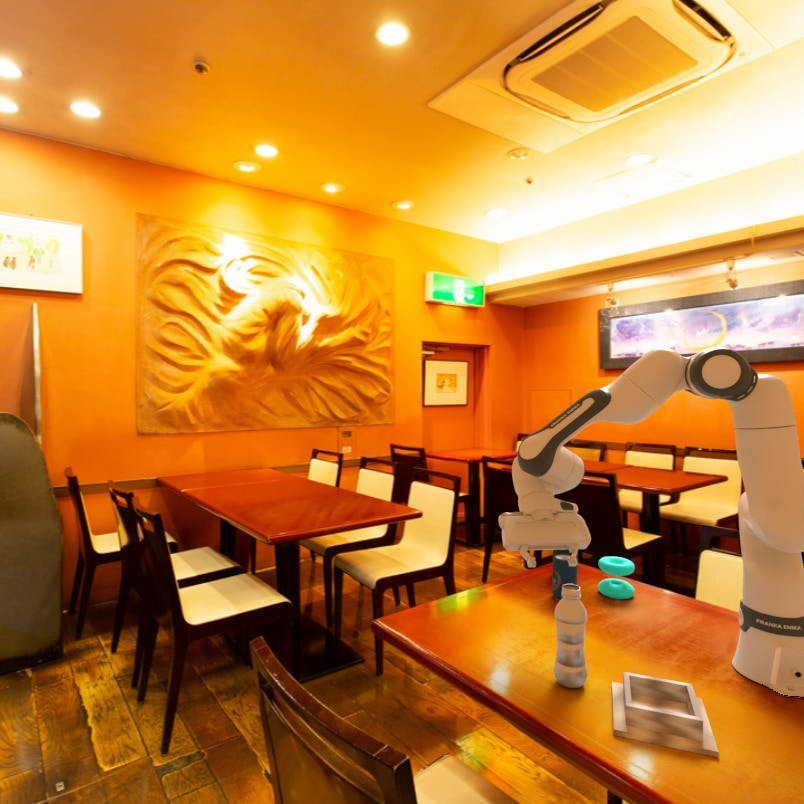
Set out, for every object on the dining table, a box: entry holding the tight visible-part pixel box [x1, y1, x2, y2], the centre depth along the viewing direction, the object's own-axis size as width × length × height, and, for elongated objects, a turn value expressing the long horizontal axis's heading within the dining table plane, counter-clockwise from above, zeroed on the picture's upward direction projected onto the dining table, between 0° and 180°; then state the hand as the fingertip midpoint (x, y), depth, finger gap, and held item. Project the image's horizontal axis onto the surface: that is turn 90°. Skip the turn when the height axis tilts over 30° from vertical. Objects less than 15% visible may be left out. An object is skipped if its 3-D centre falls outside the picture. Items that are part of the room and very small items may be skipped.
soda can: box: [551, 554, 579, 602], centre depth 152 cm, size 7×7×12 cm
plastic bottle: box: [553, 584, 588, 689], centre depth 108 cm, size 6×7×20 cm
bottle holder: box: [611, 671, 720, 758], centre depth 97 cm, size 16×16×4 cm
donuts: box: [597, 556, 636, 600], centre depth 156 cm, size 10×10×10 cm
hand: (553, 565), depth 118 cm, fingers open, 8 cm apart
